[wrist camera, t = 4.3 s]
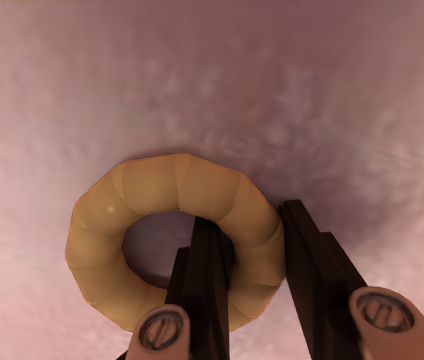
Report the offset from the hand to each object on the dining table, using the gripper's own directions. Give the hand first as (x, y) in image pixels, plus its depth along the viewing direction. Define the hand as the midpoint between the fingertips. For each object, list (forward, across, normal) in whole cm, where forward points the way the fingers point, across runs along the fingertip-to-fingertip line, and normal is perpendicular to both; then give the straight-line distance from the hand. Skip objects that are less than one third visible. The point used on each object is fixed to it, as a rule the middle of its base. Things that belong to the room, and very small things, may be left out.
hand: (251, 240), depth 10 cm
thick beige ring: (-1, +3, 0) cm, 3 cm away
